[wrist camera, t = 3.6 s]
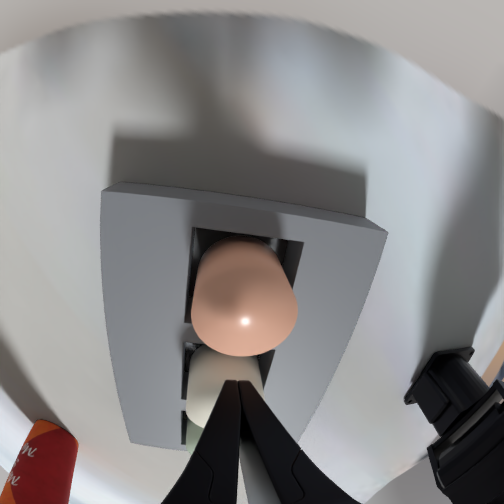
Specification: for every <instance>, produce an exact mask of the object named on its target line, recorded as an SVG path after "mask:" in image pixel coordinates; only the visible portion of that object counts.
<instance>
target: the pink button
mask: <svg viewBox="0 0 504 504" xmlns="http://www.w3.org/2000/svg"><path fill="white" fill-rule="evenodd" d="M297 315H298V305H297V301H296V297H295V295H294V293H293V291H292V288H291V286H290V284H289V282H288V279H287V277H286V275H285V273H284V270H283V268H282V266H281V264H280V262H279V259H278V257H277V255H276V254H275V252H274V251H273V250H272V248H271V247H269V246H268V245H267V244H266V243H264V242H263V241H261V240H259V239H257V238H254V237H250V236H242V235H239V236H231V237H227V238H224V239H221V240H219V241H217V242H216V243H214V244H213V245H212V246H210V247H209V248H208V249H207V251H206V252H205V253H204V255H203V256H202V258H201V260H200V263H199V266H198V271H197V277H196V284H195V290H194V296H193V302H192V309H191V319H192V324H193V327H194V330H195V332H196V333H197V335H198V336H199V338H200V339H201V340H202V341H203V342H204V343H205V344H206V345H208V346H209V347H210V348H212V349H214V350H216V351H218V352H220V353H223V354H227V355H231V356H253V355H258V354H261V353H264V352H267V351H269V350H271V349H273V348H275V347H276V346H278V345H279V344H280V343H282V342H283V341H284V340H285V339H286V338H287V337H288V335H289V334H290V333H291V331H292V329H293V328H294V326H295V323H296V320H297Z"/></svg>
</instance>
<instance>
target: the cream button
mask: <svg viewBox="0 0 504 504" xmlns="http://www.w3.org/2000/svg"><path fill="white" fill-rule="evenodd" d="M227 379H228V380H237V381H239V380H249V381H250V382H251V383H252V384H253V386H254V387H255V388H256V390H257V391H258V393H259V394H260V395H261V397H262V398H263V399H264V401H265V398H264V392H263V387H262V381H261V375H260V369H259V363H258V359H257V356H256V355H253V356H231V355H227V354H223V353H220V352H218V351H216V350H214V349H212V348H210V347H209V346H208V345H206V344H204V345H202V346H201V347H199V348H198V349H197V350H196V351H195V352H194V353H193V355H192V357H191V359H190V368H189V378H188V389H187V401H186V413H187V416H188V417H189V419H190V420H191V421H192V422H193V423H195V424H196V425H198V426H200V427H202V428H204V427H205V425H206V423H207V420H208V418H209V416H210V414H211V411H212V409H213V407H214V405H215V402H216V400H217V398H218V396H219V393H220V391H221V389H222V386H223V384H224V382H225V380H227Z"/></svg>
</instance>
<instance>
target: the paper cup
mask: <svg viewBox="0 0 504 504" xmlns="http://www.w3.org/2000/svg"><path fill="white" fill-rule="evenodd" d="M77 452H78V442H77V440H76V439H75V438H74V437H73V436H72V435H71V434H70V433H69V432H67V431H66V430H64V429H63V428H61V427H59V426H58V425H56V424H54V423H51V422H49V421H46V420H37V421H36V422H35V424H34V425H33V427H32V429H31V431H30V433H29V434H28V436H27V438H26V440H25V442H24V444H23V446H22V448H21V450H20V452H19V454H18V457H17V459H16V461H15V463H14V465H13V467H12V470H11V472H10V474H9V477H8V479H7V481H6V484H5V486H4V489H3V491H2V494H1V496H0V504H68V502H69V496H70V489H71V483H72V478H73V472H74V467H75V462H76V457H77Z"/></svg>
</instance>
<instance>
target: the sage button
mask: <svg viewBox="0 0 504 504" xmlns="http://www.w3.org/2000/svg"><path fill="white" fill-rule="evenodd" d="M203 429H204V428H202V427H200V426H198V425H196V424H195V423H193V422H192V421H191V420H190V419H189V417H188V418H187V434H186V449H187V451H188V452H189V453H190V454H191V455H192V453H193V451H194V449H195V447H196V445H197V443H198V440H199V438H200V436H201V434H202V432H203Z"/></svg>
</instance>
